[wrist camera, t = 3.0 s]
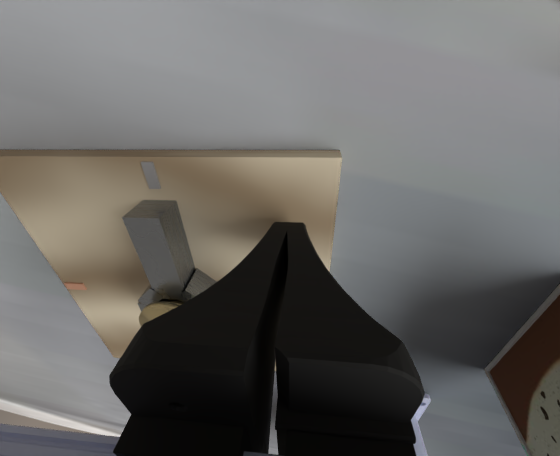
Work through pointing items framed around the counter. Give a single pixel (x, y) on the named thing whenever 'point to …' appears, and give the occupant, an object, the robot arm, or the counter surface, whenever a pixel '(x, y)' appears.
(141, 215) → the t key
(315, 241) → the plate
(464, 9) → the counter surface
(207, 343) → the robot arm
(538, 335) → the food container
